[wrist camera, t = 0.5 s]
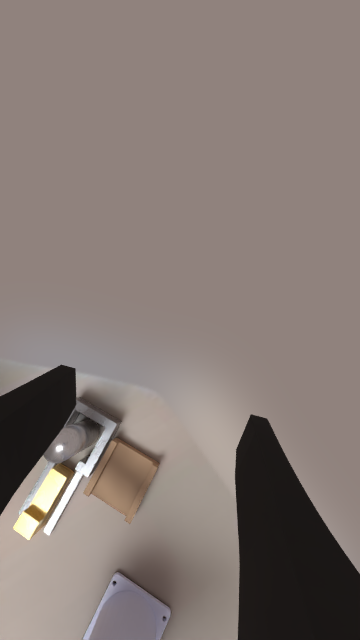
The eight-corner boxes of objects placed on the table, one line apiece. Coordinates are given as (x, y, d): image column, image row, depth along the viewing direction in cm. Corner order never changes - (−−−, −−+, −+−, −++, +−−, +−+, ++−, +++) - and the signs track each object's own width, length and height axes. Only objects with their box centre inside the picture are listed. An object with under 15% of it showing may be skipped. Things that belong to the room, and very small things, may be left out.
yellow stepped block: (45, 524, 33) (29, 539, 30) (30, 514, 34) (13, 528, 30) (74, 472, 35) (62, 480, 31) (60, 462, 35) (47, 470, 32)
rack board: (133, 515, 33) (130, 524, 31) (89, 486, 34) (83, 493, 32) (159, 463, 35) (157, 468, 33) (116, 437, 36) (111, 440, 34)
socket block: (59, 536, 33) (48, 548, 31) (15, 506, 34) (2, 514, 32) (121, 421, 36) (117, 424, 34) (80, 397, 37) (73, 397, 35)
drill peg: (90, 451, 36) (61, 469, 27) (70, 438, 36) (35, 452, 28) (104, 427, 36) (79, 438, 28) (84, 415, 37) (54, 422, 29)
